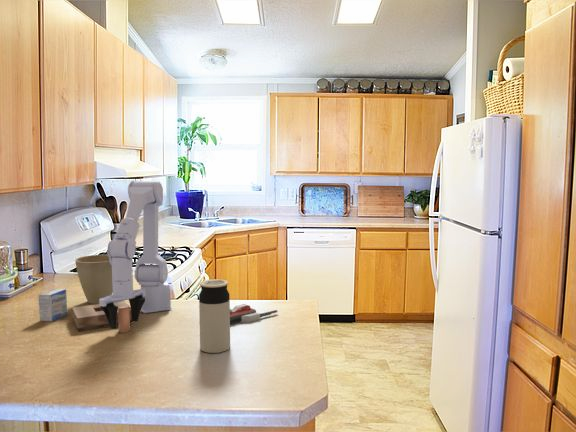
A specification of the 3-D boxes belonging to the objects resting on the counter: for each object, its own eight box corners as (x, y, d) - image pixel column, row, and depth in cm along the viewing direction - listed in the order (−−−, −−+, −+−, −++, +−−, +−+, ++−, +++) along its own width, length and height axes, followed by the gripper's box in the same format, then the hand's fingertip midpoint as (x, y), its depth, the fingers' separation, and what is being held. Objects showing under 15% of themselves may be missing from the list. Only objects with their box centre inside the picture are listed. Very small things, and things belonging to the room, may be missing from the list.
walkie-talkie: (228, 329, 147) (279, 316, 160) (228, 314, 147) (279, 302, 160) (212, 322, 154) (262, 310, 167) (212, 308, 154) (262, 297, 167)
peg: (128, 328, 147) (128, 305, 146) (131, 331, 144) (130, 308, 144) (117, 330, 145) (116, 307, 145) (119, 333, 143) (119, 310, 142)
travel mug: (236, 347, 131) (235, 282, 129) (213, 356, 125) (212, 287, 123) (217, 340, 136) (216, 277, 134) (194, 348, 130) (192, 282, 129)
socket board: (124, 312, 164) (123, 300, 163) (133, 322, 152) (132, 310, 152) (72, 319, 156) (72, 307, 155) (77, 331, 144) (77, 318, 144)
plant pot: (68, 306, 171) (66, 261, 170) (92, 295, 186) (90, 254, 184) (107, 308, 168) (105, 262, 167) (128, 297, 183) (127, 255, 182)
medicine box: (51, 322, 154) (50, 295, 153) (39, 321, 154) (37, 294, 154) (67, 314, 161) (66, 288, 160) (55, 313, 162) (54, 288, 161)
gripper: (134, 273, 152) (136, 316, 153) (92, 282, 140) (94, 328, 141) (149, 276, 147) (150, 320, 149) (107, 285, 136) (108, 333, 137)
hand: (124, 324), depth 145 cm, fingers open, 7 cm apart
